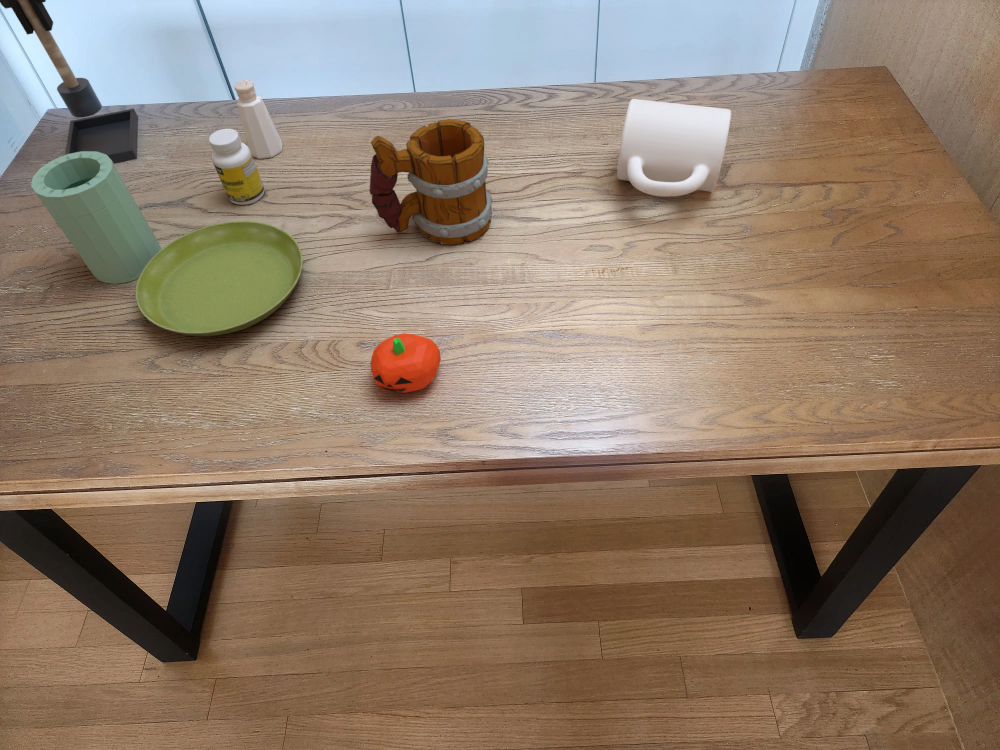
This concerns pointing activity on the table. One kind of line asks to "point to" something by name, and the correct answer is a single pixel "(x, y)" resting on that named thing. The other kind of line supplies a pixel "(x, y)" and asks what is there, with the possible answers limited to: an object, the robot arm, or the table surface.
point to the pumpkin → (405, 363)
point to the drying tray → (106, 135)
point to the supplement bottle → (236, 167)
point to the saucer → (219, 278)
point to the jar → (97, 215)
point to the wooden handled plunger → (64, 71)
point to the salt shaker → (257, 122)
